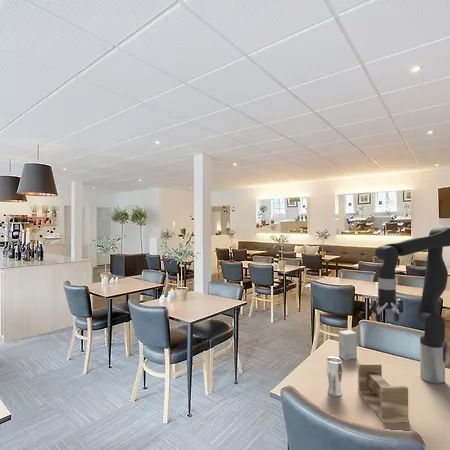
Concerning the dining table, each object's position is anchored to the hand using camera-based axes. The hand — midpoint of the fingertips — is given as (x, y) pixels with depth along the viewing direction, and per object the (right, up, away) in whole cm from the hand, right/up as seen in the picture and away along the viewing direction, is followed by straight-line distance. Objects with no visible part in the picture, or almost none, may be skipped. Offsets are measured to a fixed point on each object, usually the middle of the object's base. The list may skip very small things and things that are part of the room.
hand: (387, 321), depth 144 cm
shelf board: (-12, -25, -17) cm, 33 cm away
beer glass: (-28, -31, -7) cm, 42 cm away
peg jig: (-12, -30, -17) cm, 37 cm away
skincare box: (-7, -30, +29) cm, 43 cm away
